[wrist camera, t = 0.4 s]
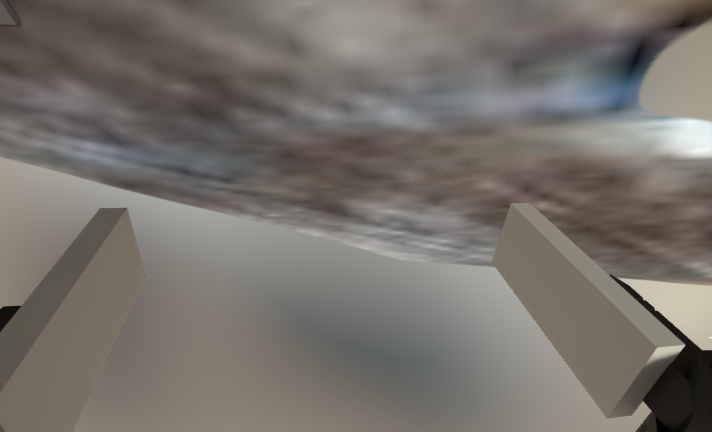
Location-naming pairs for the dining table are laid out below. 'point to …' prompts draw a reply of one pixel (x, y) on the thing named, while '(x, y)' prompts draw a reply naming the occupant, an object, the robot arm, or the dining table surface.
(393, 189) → the dining table surface
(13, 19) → the mat
